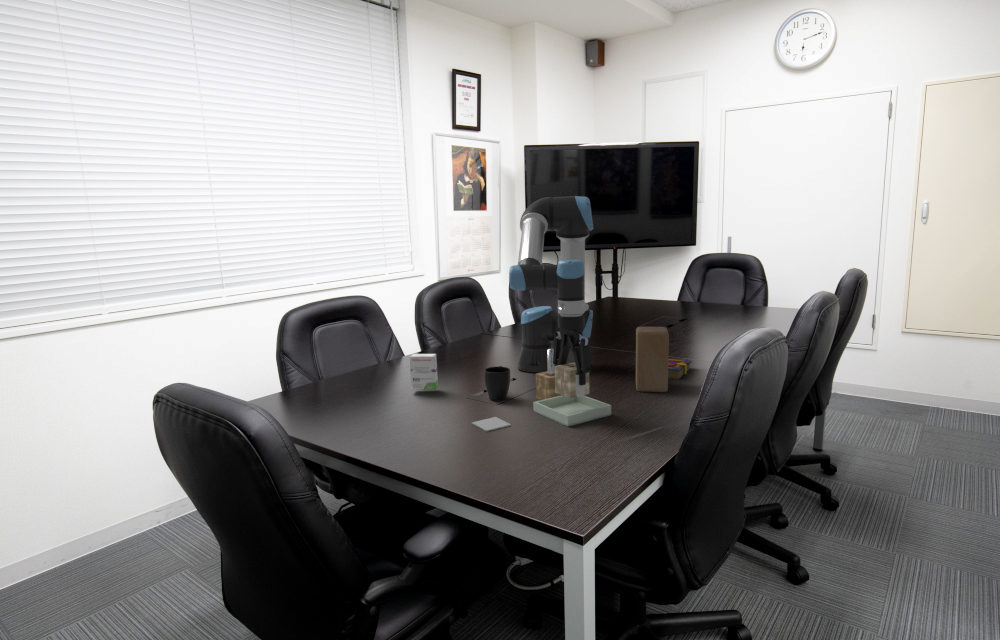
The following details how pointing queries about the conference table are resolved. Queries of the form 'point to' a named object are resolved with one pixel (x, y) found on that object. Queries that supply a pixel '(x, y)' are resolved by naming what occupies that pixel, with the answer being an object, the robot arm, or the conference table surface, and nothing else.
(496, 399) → the mug
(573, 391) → the maple block
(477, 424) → the mat
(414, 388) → the ink box
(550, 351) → the steel pin
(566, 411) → the sage tray
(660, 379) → the block
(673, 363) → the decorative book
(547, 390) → the oak block
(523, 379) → the conference table surface
